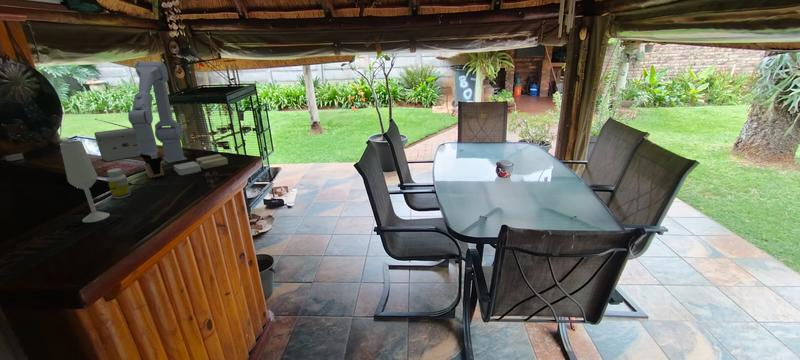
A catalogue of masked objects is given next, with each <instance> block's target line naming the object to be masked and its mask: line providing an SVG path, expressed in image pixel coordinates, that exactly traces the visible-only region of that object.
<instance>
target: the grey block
mask: <svg viewBox="0 0 800 360" xmlns="http://www.w3.org/2000/svg"><path fill="white" fill-rule="evenodd" d="M173 169H174V172H175V171H176V172H177V173H176V172H175V173H176V174H178V175H179V176H180V175H181V176H184V175H185V174H186V175H189V174H195V173H200V172H202V167H201V166H200V165H199V164H197V162H196V161H189V162H188V161H187V162H184V163H179V164H178V163H177V164H173ZM199 171H200V172H199Z"/></svg>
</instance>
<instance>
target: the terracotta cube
mask: <svg viewBox="0 0 800 360" xmlns="http://www.w3.org/2000/svg"><path fill="white" fill-rule="evenodd" d="M144 168H145V172H146V175H147V177H148V178H149V179H153V178H156V176H157V177H161V175H162V176H165V173H164V168H163V165H162V163H161V165H160V174H156V175H154V173H153V172H152V170H151V167H150V165H149V164H148V163H144ZM152 177H153V178H152Z"/></svg>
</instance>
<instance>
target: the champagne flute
mask: <svg viewBox="0 0 800 360" xmlns="http://www.w3.org/2000/svg"><path fill="white" fill-rule="evenodd" d="M59 145H60V152H61V156H62V160H63V165H64V170H65V174H66V179H67V183H69V184H70V185H72V186H74V187H76V188H77V189H81V190H83V191H84V194H85V196H86V199H87V202H88V206H89V208H90V211H91V212H90V213H89V214H87V216H85V217H84V218H82V220H81V222H83V223H95V222H99V221H102V220H105V219H107V218H108V217H110V213H109V212H103V211H97V209H96V206H95V202H94V200H93V197H92V194H91V190H90V188H92V187H93V185H94V184H95V183H96V181H97V179H98V174H97V172H96V170H95V167H94V165H93V163H92V161H91V159H90V156H89V155H88V152H87V151H86V148H85V146H84V143H83V142H82V140H70V141H63V142H61V143H59Z"/></svg>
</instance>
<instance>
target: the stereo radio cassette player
mask: <svg viewBox="0 0 800 360" xmlns="http://www.w3.org/2000/svg"><path fill="white" fill-rule="evenodd" d="M94 120H96V121H98V118H94ZM99 121H101V122H104V123H107V124H111V125H114V126H118V127H123V128H120V129H112V130H103V131H102V130H101V131H95V132H94V137H95V141H96V144H97V148H98V150H99V154H100V157H101V158H102V160H104V161H105V162H108V163H109V162H111V161H119V160H124V159H129V158H135V157H136V158H137V157H141V156H140V154H138V153H137V152H138V151H140V147H139V143H138V140H137V136H136V132H135V129H133V127H130V126H129V127H128V126H125V125H121V124H117V123H113V122H109V121H106V120H101V119H99Z"/></svg>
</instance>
